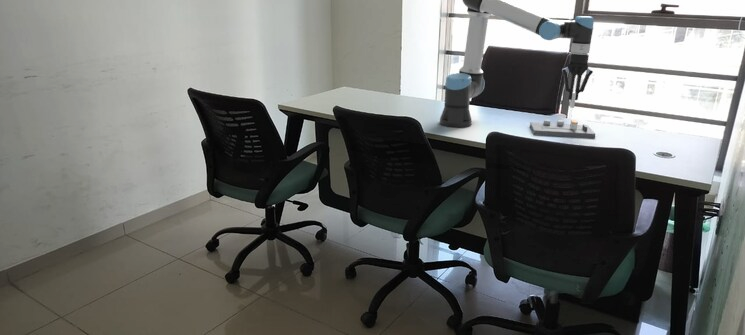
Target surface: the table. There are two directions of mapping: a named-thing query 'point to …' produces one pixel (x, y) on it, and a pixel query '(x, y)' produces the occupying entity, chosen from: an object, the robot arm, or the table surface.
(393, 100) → the table surface
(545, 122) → the console
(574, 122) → the fader
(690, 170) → the table surface
